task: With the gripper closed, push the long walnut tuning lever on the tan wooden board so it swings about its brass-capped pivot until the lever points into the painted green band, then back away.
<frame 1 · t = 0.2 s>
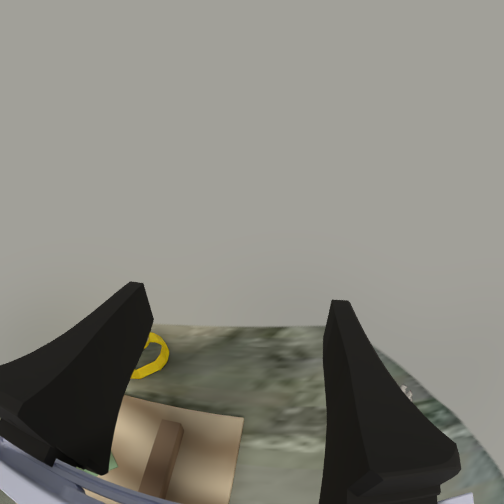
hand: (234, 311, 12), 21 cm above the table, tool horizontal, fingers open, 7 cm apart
watch: (148, 371, 33), on the table
tan wooden board: (125, 476, 22), on the table
peg lever: (154, 489, 19), point 3 cm above the table, hinge at 0.0°
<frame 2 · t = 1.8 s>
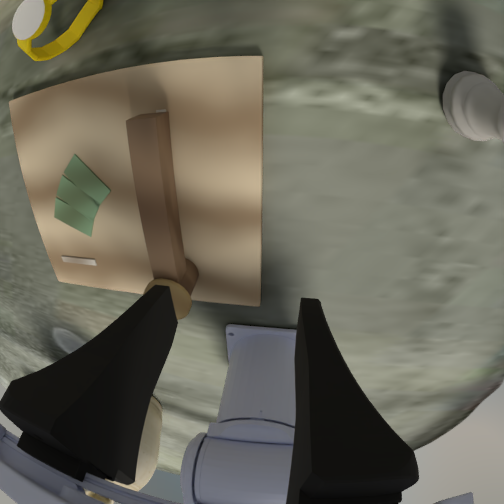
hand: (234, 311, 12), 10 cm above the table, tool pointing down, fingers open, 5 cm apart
rook chess piece: (466, 103, 14), on the table
watch: (86, 19, 14), on the table
jug: (125, 394, 41), on the table
tan wooden board: (124, 193, 21), on the table
peg lever: (162, 223, 19), point 3 cm above the table, hinge at 0.0°
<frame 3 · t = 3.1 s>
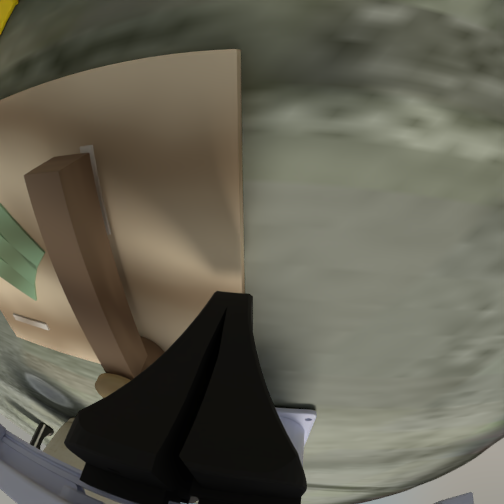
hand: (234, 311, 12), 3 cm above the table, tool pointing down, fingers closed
watch: (3, 20, 8), on the table
jug: (107, 437, 34), on the table
tan wooden board: (64, 253, 15), on the table
peg lever: (104, 309, 13), point 3 cm above the table, hinge at 0.0°
battery charger: (48, 427, 42), on the table
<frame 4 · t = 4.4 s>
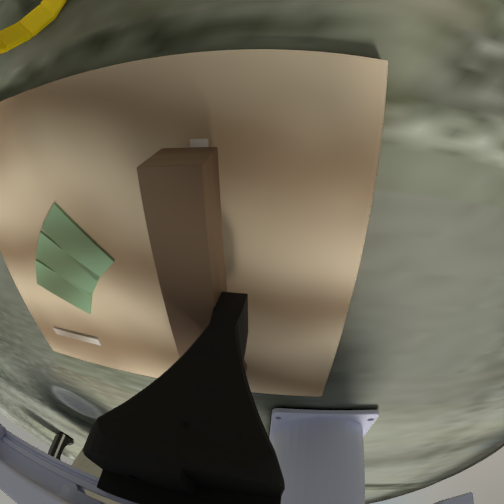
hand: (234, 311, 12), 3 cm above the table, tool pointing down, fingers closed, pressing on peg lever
jug: (138, 447, 34), on the table
tan wooden board: (135, 261, 14), on the table
peg lever: (203, 325, 12), point 3 cm above the table, hinge at 0.1°, touching gripper
battery charger: (67, 437, 42), on the table
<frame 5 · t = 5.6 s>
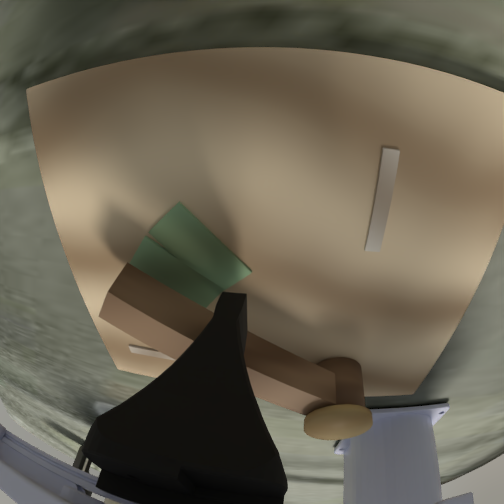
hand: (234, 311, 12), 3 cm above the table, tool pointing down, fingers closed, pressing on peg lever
tan wooden board: (268, 271, 14), on the table
peg lever: (254, 363, 13), point 3 cm above the table, hinge at 56.3°, touching gripper
battery charger: (93, 447, 41), on the table
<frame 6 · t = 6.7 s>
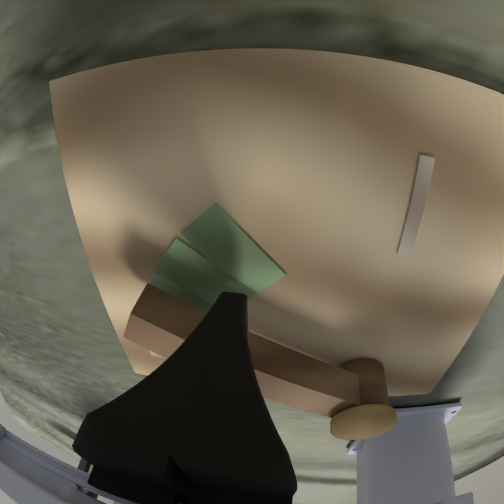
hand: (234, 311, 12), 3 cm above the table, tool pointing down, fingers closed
tan wooden board: (300, 274, 14), on the table
peg lever: (278, 371, 13), point 3 cm above the table, hinge at 62.2°, touching gripper
battery charger: (99, 449, 41), on the table
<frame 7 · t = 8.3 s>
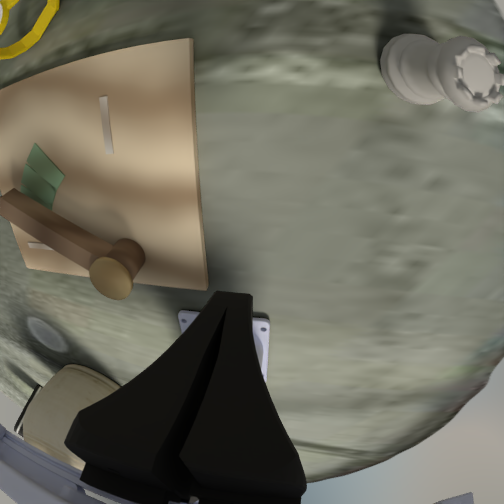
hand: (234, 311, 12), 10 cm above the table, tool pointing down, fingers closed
rook chess piece: (411, 68, 14), on the table
watch: (47, 20, 14), on the table
jug: (97, 387, 40), on the table
tan wooden board: (78, 178, 21), on the table
peg lever: (65, 236, 21), point 3 cm above the table, hinge at 62.4°
battery charger: (44, 391, 48), on the table
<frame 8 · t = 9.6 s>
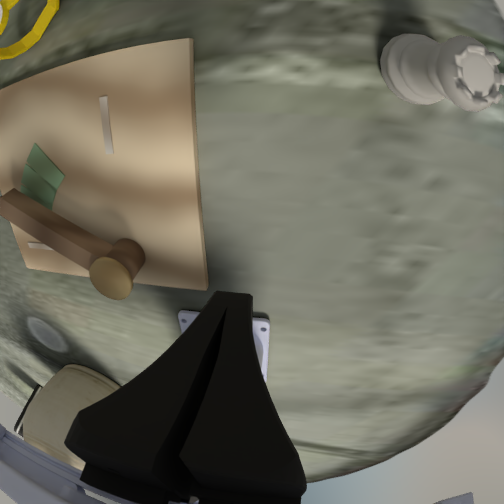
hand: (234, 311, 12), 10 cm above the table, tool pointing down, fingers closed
rook chess piece: (411, 68, 14), on the table
watch: (47, 20, 14), on the table
jug: (97, 387, 40), on the table
tan wooden board: (78, 178, 21), on the table
peg lever: (65, 236, 21), point 3 cm above the table, hinge at 62.4°
battery charger: (44, 391, 48), on the table
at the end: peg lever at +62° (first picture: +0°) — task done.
